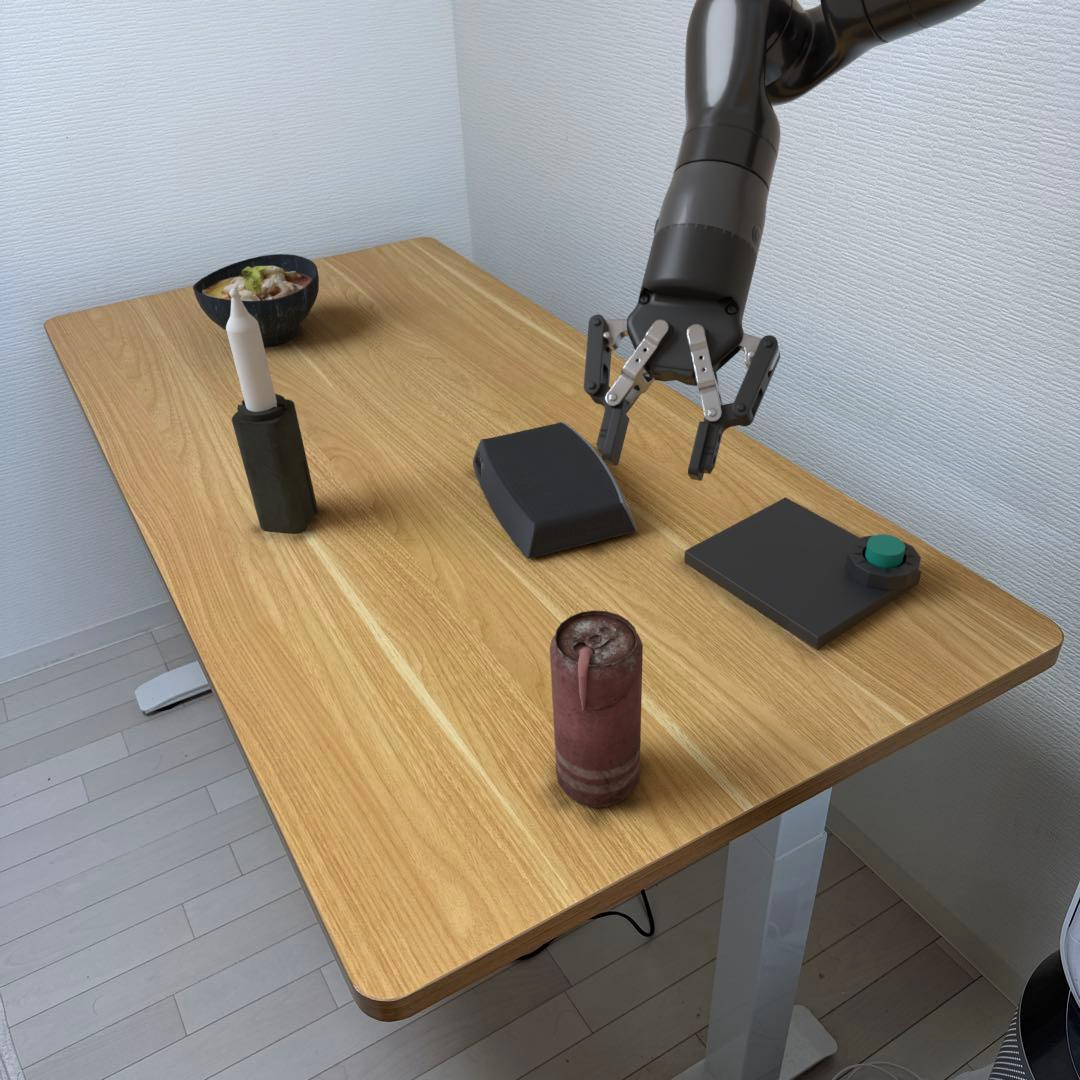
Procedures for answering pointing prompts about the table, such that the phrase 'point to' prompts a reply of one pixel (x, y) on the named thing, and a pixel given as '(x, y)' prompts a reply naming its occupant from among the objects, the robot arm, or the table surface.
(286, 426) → the candle
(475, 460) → the hard drive
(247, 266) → the bowl
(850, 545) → the scale
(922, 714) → the table surface
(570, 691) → the can
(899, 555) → the button
